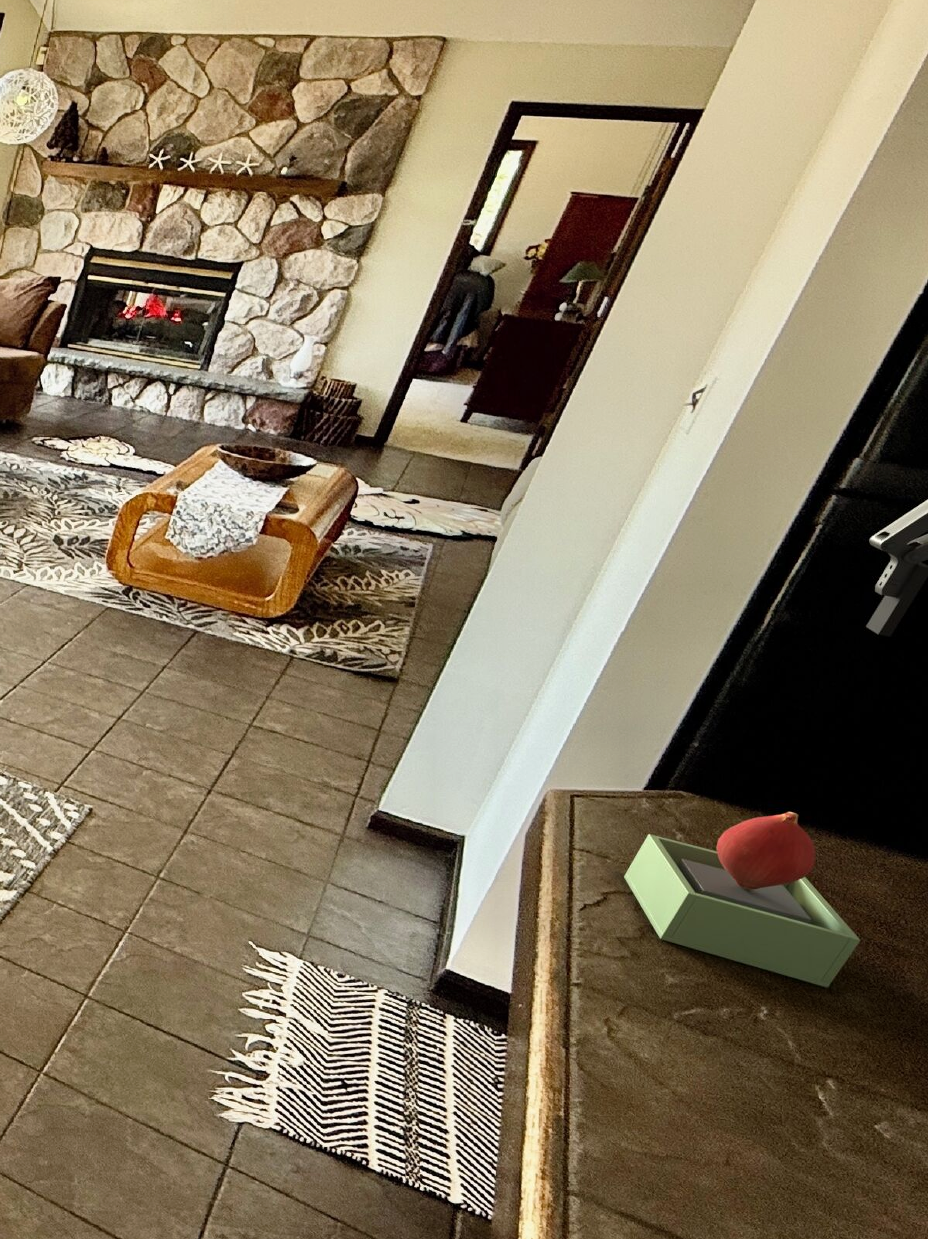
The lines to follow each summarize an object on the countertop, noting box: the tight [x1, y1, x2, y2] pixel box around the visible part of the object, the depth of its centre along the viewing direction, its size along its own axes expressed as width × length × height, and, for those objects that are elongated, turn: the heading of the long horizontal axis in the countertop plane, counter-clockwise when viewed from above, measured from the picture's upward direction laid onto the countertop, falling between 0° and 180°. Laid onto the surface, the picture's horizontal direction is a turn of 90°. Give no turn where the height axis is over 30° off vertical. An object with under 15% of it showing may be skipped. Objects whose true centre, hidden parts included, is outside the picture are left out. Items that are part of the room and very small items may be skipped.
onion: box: [715, 811, 816, 890], centre depth 103 cm, size 6×6×8 cm
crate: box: [623, 833, 861, 989], centre depth 106 cm, size 11×13×5 cm
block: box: [677, 859, 811, 924], centre depth 106 cm, size 7×7×4 cm
